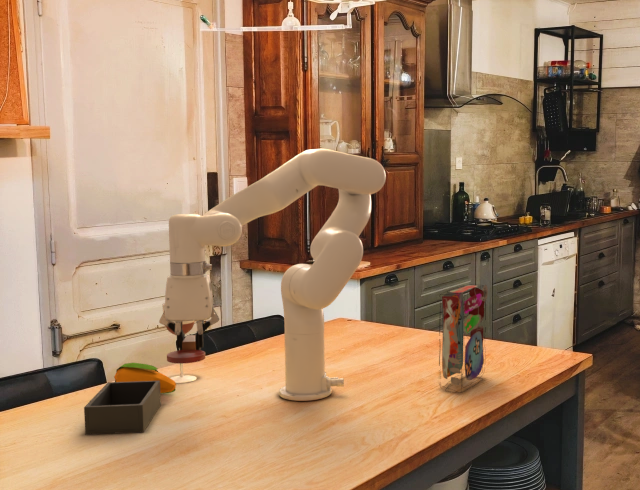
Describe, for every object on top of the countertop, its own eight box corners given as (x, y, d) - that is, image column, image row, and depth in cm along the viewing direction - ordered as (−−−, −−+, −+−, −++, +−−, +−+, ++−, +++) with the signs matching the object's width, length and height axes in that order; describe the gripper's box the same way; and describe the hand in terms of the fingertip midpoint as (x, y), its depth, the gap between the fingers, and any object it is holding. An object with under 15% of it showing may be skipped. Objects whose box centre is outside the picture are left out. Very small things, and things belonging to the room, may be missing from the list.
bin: (160, 404, 180) (160, 380, 179) (143, 432, 161) (142, 405, 160) (108, 406, 178) (107, 382, 178) (85, 434, 159) (83, 407, 159)
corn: (129, 355, 195) (186, 364, 185) (132, 384, 197) (189, 395, 187) (105, 363, 189) (163, 373, 179) (108, 393, 190) (166, 405, 180)
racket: (211, 347, 179) (210, 334, 179) (202, 362, 164) (202, 349, 164) (175, 348, 178) (175, 335, 178) (163, 364, 163) (163, 350, 163)
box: (476, 368, 212) (477, 279, 210) (497, 370, 209) (498, 281, 207) (438, 391, 190) (438, 292, 188) (461, 394, 187) (462, 294, 185)
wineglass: (158, 381, 199) (155, 304, 197) (180, 373, 207) (177, 299, 205) (183, 384, 196) (181, 306, 194) (204, 376, 204) (202, 301, 202)
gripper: (227, 267, 177) (229, 346, 179) (153, 268, 175) (156, 348, 177) (223, 271, 169) (225, 353, 171) (146, 272, 167) (149, 356, 169)
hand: (190, 350), depth 174 cm, fingers closed on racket, 2 cm apart
